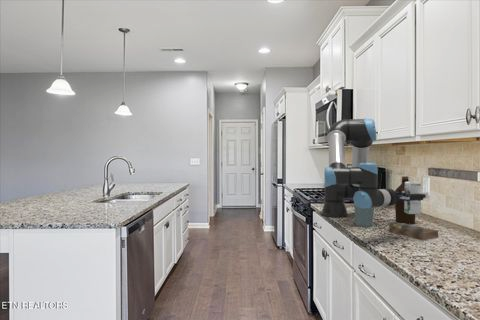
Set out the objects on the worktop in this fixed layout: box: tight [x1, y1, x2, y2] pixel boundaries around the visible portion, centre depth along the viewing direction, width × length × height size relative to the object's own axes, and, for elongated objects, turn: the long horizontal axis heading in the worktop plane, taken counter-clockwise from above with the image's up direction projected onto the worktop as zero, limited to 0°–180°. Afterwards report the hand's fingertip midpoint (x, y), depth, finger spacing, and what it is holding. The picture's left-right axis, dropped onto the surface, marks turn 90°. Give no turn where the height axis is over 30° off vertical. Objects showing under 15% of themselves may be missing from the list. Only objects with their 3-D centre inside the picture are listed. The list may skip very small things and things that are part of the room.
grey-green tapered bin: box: [353, 202, 375, 228], centre depth 175 cm, size 10×10×12 cm
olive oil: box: [394, 175, 416, 225], centre depth 180 cm, size 11×11×25 cm
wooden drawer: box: [388, 220, 439, 241], centre depth 155 cm, size 18×10×5 cm, turn 25°
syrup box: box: [404, 181, 422, 215], centre depth 155 cm, size 6×6×14 cm
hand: (419, 194), depth 157 cm, fingers closed on syrup box, 7 cm apart
